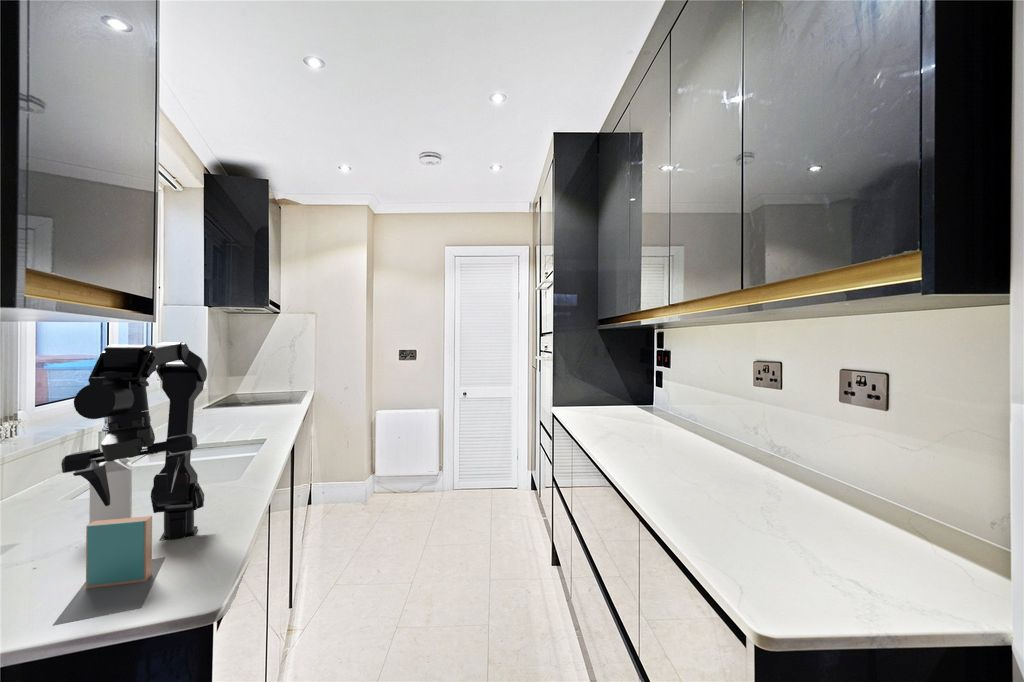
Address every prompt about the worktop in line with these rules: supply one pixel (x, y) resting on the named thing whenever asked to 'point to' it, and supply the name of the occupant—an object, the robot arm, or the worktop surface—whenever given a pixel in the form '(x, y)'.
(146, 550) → the tile
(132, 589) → the mat
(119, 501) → the milk carton
